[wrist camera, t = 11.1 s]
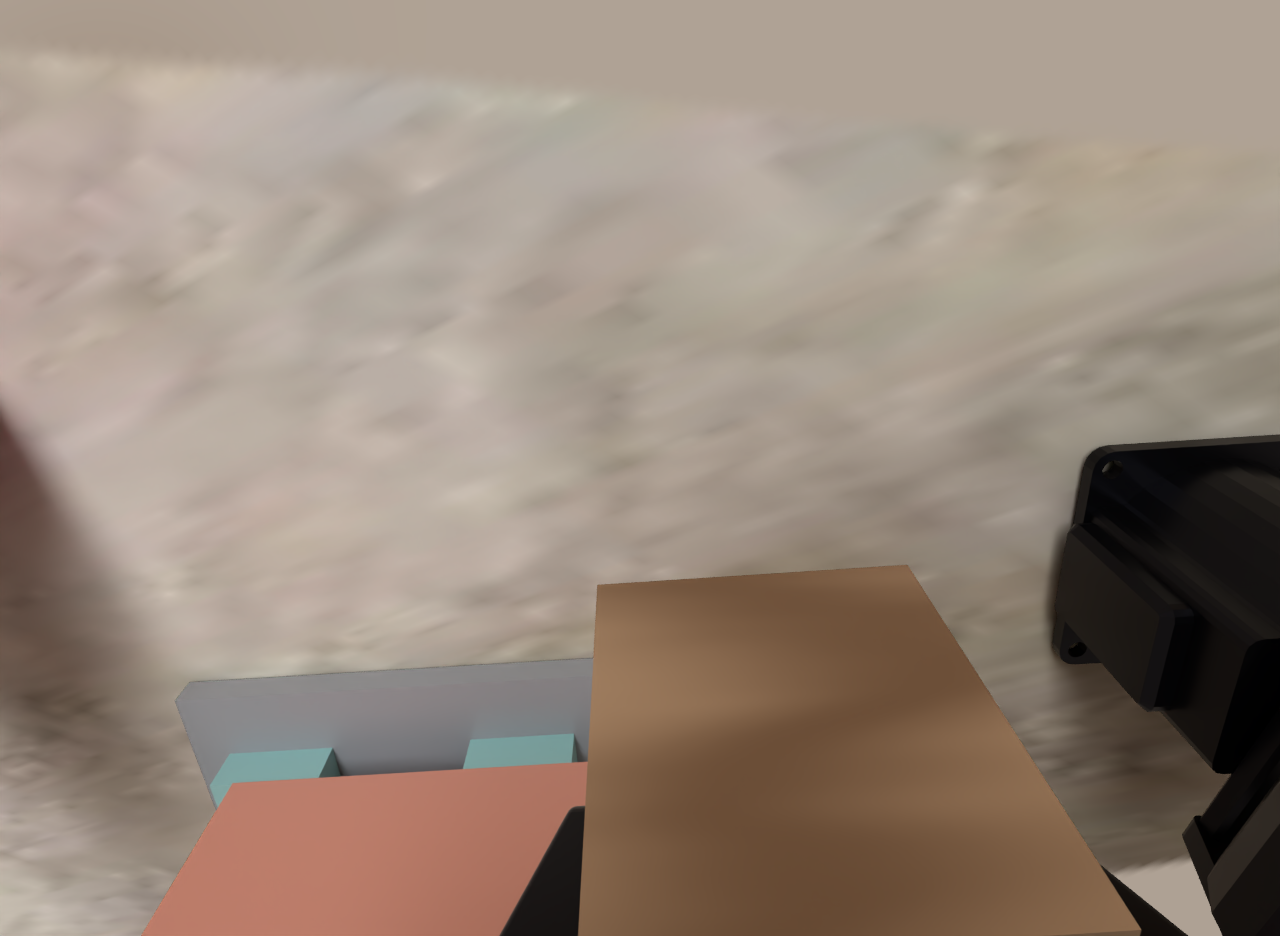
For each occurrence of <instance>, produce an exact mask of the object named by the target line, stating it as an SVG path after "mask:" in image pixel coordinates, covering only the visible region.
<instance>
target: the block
mask: <svg viewBox="0 0 1280 936" xmlns="http://www.w3.org/2000/svg"><path fill="white" fill-rule="evenodd" d="M1140 933H1141V928H1140V927H1139V925H1138V924H1137V922H1136V921H1135V919H1134V917H1133V916H1132V914H1131V913H1130V911H1129V910H1128V908H1127V907H1126V905H1125V903H1124V902H1123V900H1122V899H1121V897H1120V896H1119V894H1118V893H1117V891H1116V889H1115V888H1114V886H1113V885H1112V883H1111V882H1110V880H1109V878H1108V877H1107V875H1106V874H1105V872H1104V871H1103V869H1102V868H1101V866H1100V864H1099V863H1098V861H1097V860H1096V858H1095V857H1094V855H1093V854H1092V852H1091V850H1090V849H1089V847H1088V846H1087V844H1086V843H1085V841H1084V840H1083V838H1082V836H1081V835H1080V833H1079V832H1078V830H1077V829H1076V827H1075V825H1074V824H1073V822H1072V821H1071V819H1070V818H1069V816H1068V815H1067V813H1066V811H1065V810H1064V808H1063V807H1062V805H1061V804H1060V802H1059V801H1058V799H1057V797H1056V796H1055V794H1054V793H1053V791H1052V790H1051V788H1050V786H1049V785H1048V783H1047V782H1046V780H1045V779H1044V777H1043V776H1042V774H1041V772H1040V771H1039V769H1038V768H1037V766H1036V765H1035V763H1034V762H1033V760H1032V758H1031V757H1030V755H1029V754H1028V752H1027V751H1026V749H1025V747H1024V746H1023V744H1022V743H1021V741H1020V740H1019V738H1018V737H1017V735H1016V733H1015V732H1014V730H1013V729H1012V727H1011V726H1010V724H1009V723H1008V721H1007V719H1006V718H1005V716H1004V715H1003V713H1002V712H1001V710H1000V709H999V707H998V705H997V704H996V702H995V701H994V699H993V698H992V696H991V694H990V693H989V691H988V690H987V688H986V687H985V685H984V684H983V682H982V680H981V679H980V677H979V676H978V674H977V673H976V671H975V670H974V668H973V666H972V665H971V663H970V662H969V660H968V659H967V657H966V655H965V654H964V652H963V651H962V649H961V648H960V646H959V645H958V643H957V641H956V640H955V638H954V637H953V635H952V634H951V632H950V631H949V629H948V627H947V626H946V624H945V623H944V621H943V620H942V618H941V617H940V615H939V613H938V612H937V610H936V609H935V607H934V606H933V604H932V602H931V601H930V599H929V598H928V596H927V595H926V593H925V592H924V590H923V588H922V587H921V585H920V584H919V582H918V581H917V579H916V578H915V576H914V574H913V573H912V571H911V570H910V568H909V567H908V565H898V566H883V567H867V568H852V569H836V570H821V571H805V572H790V573H774V574H759V575H743V576H728V577H712V578H697V579H681V580H666V581H650V582H635V583H619V584H604V585H597V602H596V620H595V638H594V656H593V675H592V693H591V711H590V729H589V747H588V765H587V783H586V801H585V820H584V838H583V856H582V874H581V892H580V910H579V928H578V936H1140Z"/></svg>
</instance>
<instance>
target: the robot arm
mask: <svg viewBox="0 0 1280 936" xmlns="http://www.w3.org/2000/svg"><path fill="white" fill-rule="evenodd" d="M1111 461H1114V464H1113V466H1112V468H1111V469H1110V470H1108V471H1107V472H1102V470H1103V468H1104V466H1105V465H1106V464H1107V463H1108V462H1111ZM1055 610H1056V612H1057V613H1058V614H1057V620H1056V625H1055V631H1054V636H1053V642H1052V643H1053V649H1054V650H1055V652H1056V653H1057V654H1058V655H1059V657H1060V658H1061V659H1062V660H1063V661H1064V662H1066V663H1068V664H1088V663H1102V664H1103V665H1104V666H1105V667H1106V669H1107V670H1108V671H1109V672H1110V673H1111V674H1112V675H1113V677H1114V678H1115V679H1116V680H1117V681H1118V682H1119V683H1120V685H1121V686H1122V687H1123V688H1124V689H1125V690H1126V691H1127V693H1128V694H1129V695H1130V696H1131V697H1132V698H1133V699H1134V701H1135V702H1136V703H1137V704H1139V705H1140V706H1141V707H1142V708H1143V709H1144V710H1146V711H1147V712H1151V711H1160V712H1161V713H1162V714H1163V715H1164V716H1165V717H1166V718H1167V720H1168V721H1169V722H1170V723H1171V724H1172V725H1173V726H1174V727H1175V728H1176V730H1177V731H1178V732H1179V733H1180V734H1181V735H1182V736H1183V737H1184V738H1185V739H1186V741H1187V742H1188V743H1189V744H1190V745H1191V746H1192V747H1193V748H1194V749H1195V751H1196V752H1197V753H1198V754H1199V755H1200V756H1201V757H1202V758H1203V759H1204V760H1205V762H1206V763H1207V764H1208V765H1209V766H1210V767H1211V768H1212V769H1213V770H1214V771H1215V772H1216V773H1220V774H1231V775H1230V777H1229V778H1228V780H1227V781H1226V783H1225V784H1224V785H1223V787H1222V788H1221V790H1220V791H1219V792H1218V794H1217V795H1216V797H1215V798H1214V799H1213V801H1212V802H1211V804H1210V805H1209V807H1208V808H1207V809H1206V811H1205V812H1204V814H1203V815H1202V816H1195V817H1194V818H1193V820H1192V821H1191V822H1190V824H1189V825H1188V827H1187V828H1186V830H1185V831H1184V832H1183V834H1182V836H1183V839H1184V842H1185V844H1186V847H1187V849H1188V852H1189V854H1190V857H1191V859H1192V862H1193V864H1194V866H1195V869H1196V871H1197V874H1198V876H1199V879H1200V881H1201V884H1202V886H1203V889H1204V891H1205V894H1206V896H1207V899H1208V901H1209V904H1210V906H1211V912H1212V915H1213V916H1214V918H1215V920H1216V922H1217V924H1218V926H1219V928H1220V931H1221V933H1222V936H1280V435H1265V436H1249V437H1233V438H1218V439H1202V440H1186V441H1170V442H1154V443H1138V444H1122V445H1107V446H1103V447H1099V448H1098V449H1096V450H1094V451H1093V452H1092V453H1091V454H1090V455H1089V456H1088V457H1087V459H1086V462H1085V464H1084V469H1083V475H1082V480H1081V486H1080V491H1079V497H1078V502H1077V508H1076V514H1075V519H1074V525H1073V526H1072V528H1071V529H1070V531H1069V532H1068V535H1067V541H1066V546H1065V552H1064V558H1063V563H1062V569H1061V575H1060V580H1059V586H1058V591H1057V597H1056V603H1055ZM1077 642H1078V644H1077V645H1076V646H1075V647H1073V648H1070V646H1071V645H1073V644H1074V643H1077ZM584 820H585V806H575V807H572V808H571V809H570V810H569V811H568V812H567V814H566V816H565V818H564V819H563V821H562V823H561V825H560V827H559V828H558V830H557V832H556V834H555V836H554V837H553V839H552V841H551V843H550V845H549V846H548V848H547V850H546V852H545V854H544V856H543V857H542V859H541V861H540V863H539V865H538V866H537V868H536V870H535V872H534V874H533V875H532V877H531V879H530V881H529V883H528V884H527V886H526V888H525V890H524V892H523V893H522V895H521V897H520V899H519V901H518V903H517V904H516V906H515V908H514V910H513V912H512V913H511V915H510V917H509V919H508V921H507V922H506V924H505V926H504V928H503V930H502V931H501V933H500V935H499V936H578V928H579V910H580V892H581V874H582V856H583V838H584ZM1100 866H1101V865H1100ZM1101 868H1102V869H1103V871H1104V872H1105V874H1106V875H1107V877H1108V878H1109V880H1110V882H1111V883H1112V885H1113V886H1114V888H1115V889H1116V891H1117V893H1118V894H1119V896H1120V897H1121V899H1122V900H1123V902H1124V903H1125V905H1126V907H1127V908H1128V910H1129V911H1130V913H1131V914H1132V916H1133V917H1134V919H1135V921H1136V922H1137V924H1138V925H1139V927H1140V928H1141V933H1140V936H1188V935H1186V934H1185V933H1184V932H1183V931H1181V930H1180V929H1179V928H1178V927H1177V926H1175V925H1174V924H1173V923H1171V922H1170V921H1169V920H1168V919H1167V918H1165V917H1164V916H1163V915H1162V914H1161V913H1159V912H1158V911H1157V910H1156V909H1154V908H1153V907H1152V906H1151V905H1149V904H1148V903H1147V902H1146V901H1144V900H1143V899H1142V898H1141V897H1140V896H1138V895H1137V894H1136V893H1135V892H1133V891H1132V890H1131V889H1129V888H1128V887H1127V886H1126V885H1125V884H1123V883H1122V882H1121V881H1120V880H1118V879H1117V878H1116V877H1115V876H1114V875H1112V874H1111V873H1110V872H1109V871H1107V870H1106V869H1105V868H1104V867H1102V866H1101Z"/></svg>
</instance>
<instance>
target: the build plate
mask: <svg viewBox="0 0 1280 936" xmlns="http://www.w3.org/2000/svg"><path fill="white" fill-rule="evenodd" d="M592 675H593V658H586V659H569V660H553V661H536V662H519V663H503V664H486V665H469V666H453V667H436V668H419V669H403V670H386V671H369V672H352V673H336V674H319V675H302V676H286V677H269V678H252V679H236V680H219V681H202V682H189V683H188V685H187V686H186V687H185V689H184V690H183V691H182V692H181V694H180V695H179V696H178V697H177V699H176V700H175V703H176V705H177V708H178V711H179V713H180V716H181V719H182V721H183V724H184V727H185V729H186V732H187V735H188V737H189V740H190V743H191V745H192V748H193V751H194V753H195V756H196V759H197V761H198V764H199V766H200V769H201V772H202V774H203V777H204V780H205V782H206V785H207V788H208V790H209V793H210V796H211V798H212V801H213V804H214V806H215V809H216V810H217V808H218V807H219V805H220V803H221V802H222V800H223V798H224V797H225V795H226V793H227V792H228V790H229V788H230V787H231V785H232V783H242V782H258V781H275V780H292V779H308V778H325V777H341V776H358V775H374V774H391V773H408V772H424V771H441V770H457V769H474V768H490V767H507V766H524V765H540V764H557V763H573V762H588V747H589V729H590V711H591V693H592Z"/></svg>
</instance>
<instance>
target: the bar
mask: <svg viewBox="0 0 1280 936" xmlns="http://www.w3.org/2000/svg"><path fill="white" fill-rule="evenodd" d="M587 765H588V762H573V763H557V764H540V765H524V766H507V767H490V768H474V769H457V770H441V771H424V772H408V773H391V774H374V775H358V776H341V777H325V778H308V779H292V780H275V781H258V782H242V783H232V785H231V787H230V788H229V790H228V792H227V793H226V795H225V797H224V798H223V800H222V802H221V803H220V805H219V807H218V808H217V810H216V812H215V813H214V815H213V817H212V818H211V820H210V822H209V823H208V825H207V827H206V828H205V830H204V832H203V833H202V835H201V837H200V838H199V840H198V842H197V843H196V845H195V847H194V848H193V850H192V852H191V853H190V855H189V857H188V858H187V860H186V862H185V863H184V865H183V867H182V868H181V870H180V872H179V873H178V875H177V877H176V878H175V880H174V882H173V883H172V885H171V887H170V888H169V890H168V892H167V893H166V895H165V897H164V898H163V900H162V902H161V903H160V905H159V907H158V908H157V910H156V912H155V913H154V915H153V917H152V918H151V920H150V922H149V924H148V925H147V927H146V929H145V930H144V932H143V934H142V935H141V936H499V935H500V933H501V931H502V930H503V928H504V926H505V924H506V922H507V921H508V919H509V917H510V915H511V913H512V912H513V910H514V908H515V906H516V904H517V903H518V901H519V899H520V897H521V895H522V893H523V892H524V890H525V888H526V886H527V884H528V883H529V881H530V879H531V877H532V875H533V874H534V872H535V870H536V868H537V866H538V865H539V863H540V861H541V859H542V857H543V856H544V854H545V852H546V850H547V848H548V846H549V845H550V843H551V841H552V839H553V837H554V836H555V834H556V832H557V830H558V828H559V827H560V825H561V823H562V821H563V819H564V818H565V816H566V814H567V812H568V811H569V810H570V809H571V808H572V807H575V806H585V801H586V783H587Z"/></svg>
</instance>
